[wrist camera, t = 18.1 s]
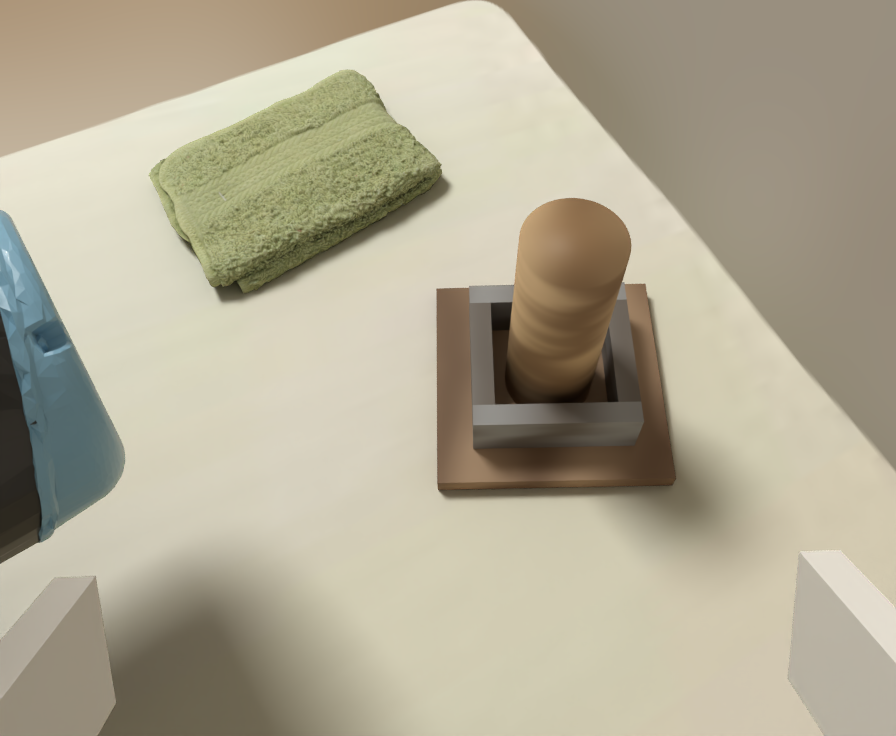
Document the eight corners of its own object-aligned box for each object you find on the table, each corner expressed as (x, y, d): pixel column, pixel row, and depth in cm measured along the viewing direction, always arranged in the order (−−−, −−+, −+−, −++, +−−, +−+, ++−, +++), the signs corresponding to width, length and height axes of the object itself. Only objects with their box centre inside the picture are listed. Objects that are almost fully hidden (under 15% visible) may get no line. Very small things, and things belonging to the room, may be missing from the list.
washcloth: (144, 186, 59) (128, 153, 57) (360, 86, 64) (355, 51, 61) (224, 314, 54) (211, 284, 51) (454, 194, 58) (454, 161, 55)
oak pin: (508, 418, 48) (523, 289, 36) (502, 343, 50) (514, 200, 39) (595, 415, 48) (638, 285, 36) (585, 340, 50) (622, 196, 39)
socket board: (438, 489, 47) (435, 460, 43) (437, 297, 53) (434, 259, 50) (672, 485, 47) (688, 455, 43) (642, 293, 53) (654, 254, 50)
